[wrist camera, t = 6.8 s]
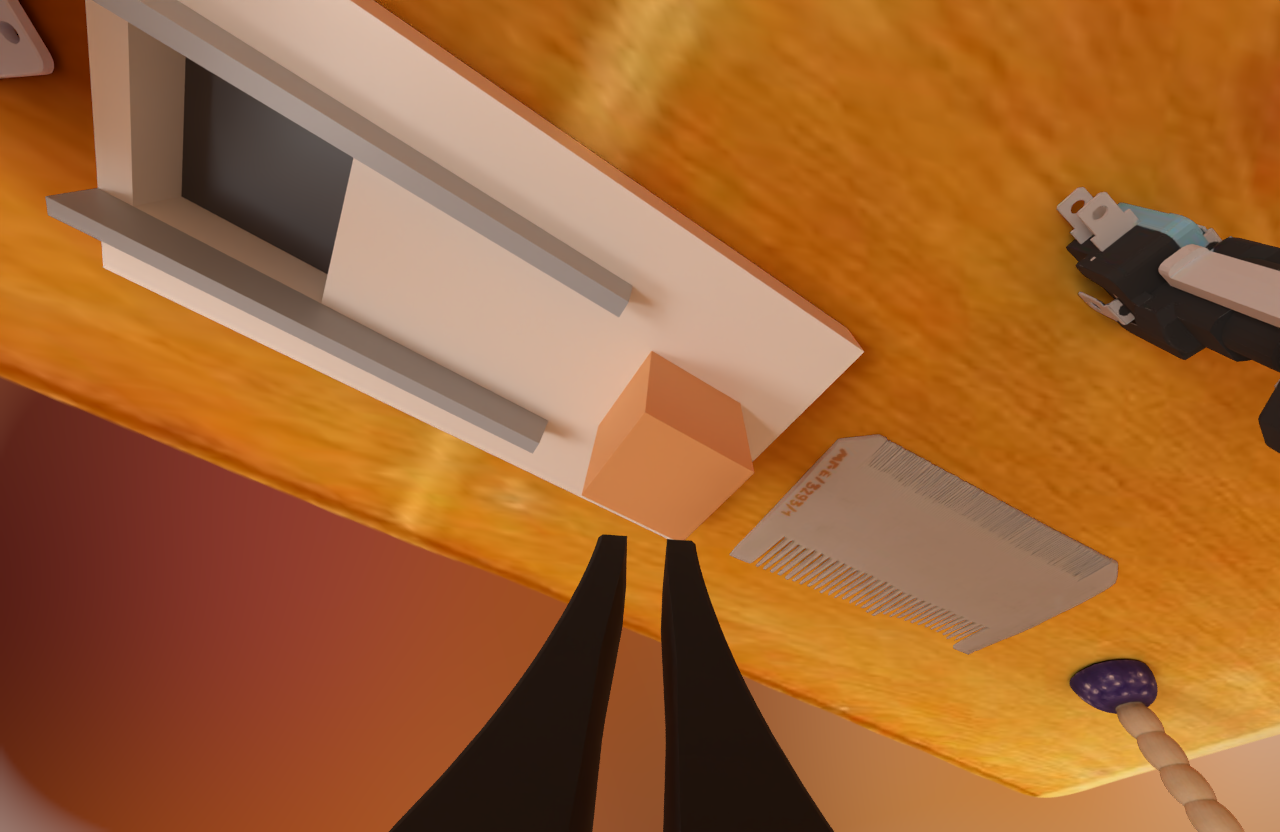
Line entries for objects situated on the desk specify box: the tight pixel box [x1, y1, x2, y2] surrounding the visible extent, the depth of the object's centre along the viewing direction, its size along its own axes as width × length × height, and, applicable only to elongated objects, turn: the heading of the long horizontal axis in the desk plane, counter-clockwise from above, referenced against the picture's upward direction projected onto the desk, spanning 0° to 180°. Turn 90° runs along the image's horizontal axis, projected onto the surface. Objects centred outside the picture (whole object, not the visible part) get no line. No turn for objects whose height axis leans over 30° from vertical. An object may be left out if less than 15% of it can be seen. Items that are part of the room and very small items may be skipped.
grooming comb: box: [730, 434, 1118, 654], centre depth 25 cm, size 18×10×1 cm, turn 62°
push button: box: [1057, 187, 1280, 453], centre depth 12 cm, size 7×5×10 cm
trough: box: [46, 0, 864, 540], centre depth 17 cm, size 24×12×4 cm, turn 58°
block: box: [582, 351, 754, 540], centre depth 17 cm, size 4×4×4 cm
